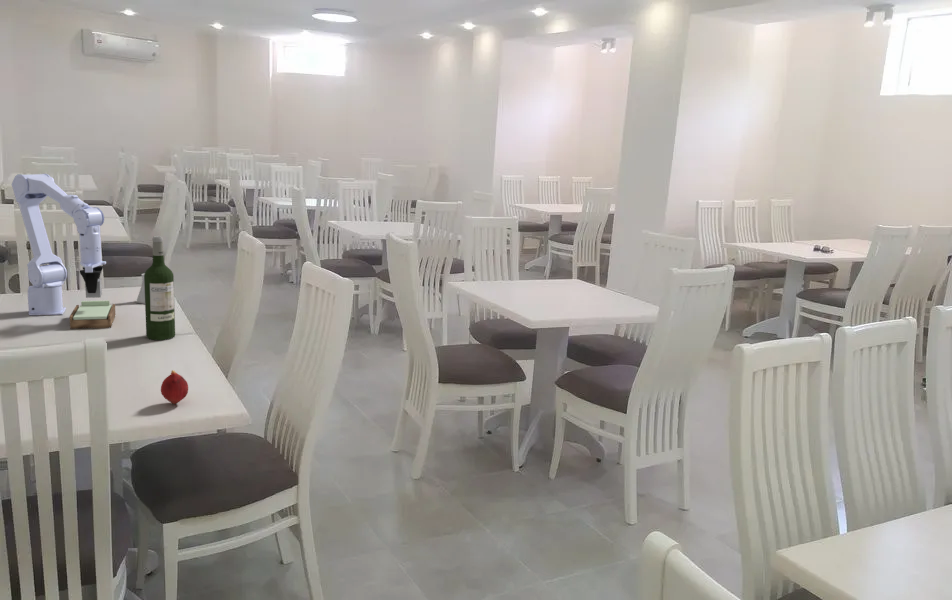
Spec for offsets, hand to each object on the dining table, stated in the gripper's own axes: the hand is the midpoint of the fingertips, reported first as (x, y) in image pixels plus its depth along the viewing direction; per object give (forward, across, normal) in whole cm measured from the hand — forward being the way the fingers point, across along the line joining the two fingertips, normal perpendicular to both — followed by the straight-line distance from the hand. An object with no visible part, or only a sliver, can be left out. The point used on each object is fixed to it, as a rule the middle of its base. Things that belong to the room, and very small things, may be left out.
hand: (92, 291), depth 228 cm
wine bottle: (+10, -20, -20) cm, 30 cm away
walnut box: (+10, 0, 0) cm, 10 cm away
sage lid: (+7, 0, 0) cm, 7 cm away
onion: (+10, -77, -25) cm, 82 cm away
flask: (+10, +26, -14) cm, 31 cm away
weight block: (+2, 0, 0) cm, 2 cm away
